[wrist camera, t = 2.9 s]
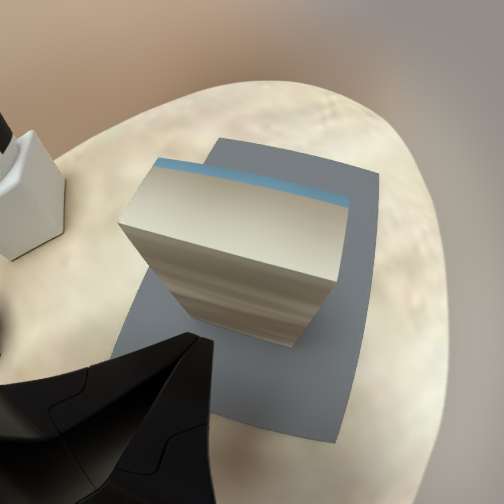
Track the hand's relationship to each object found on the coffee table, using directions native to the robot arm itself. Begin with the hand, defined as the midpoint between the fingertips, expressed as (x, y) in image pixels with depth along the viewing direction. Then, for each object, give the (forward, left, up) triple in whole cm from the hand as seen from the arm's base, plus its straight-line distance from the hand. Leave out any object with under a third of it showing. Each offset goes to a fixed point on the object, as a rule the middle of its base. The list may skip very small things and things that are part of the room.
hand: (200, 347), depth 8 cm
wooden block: (+3, -1, -8) cm, 8 cm away
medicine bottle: (+12, +19, -8) cm, 24 cm away
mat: (+7, -2, -8) cm, 11 cm away
